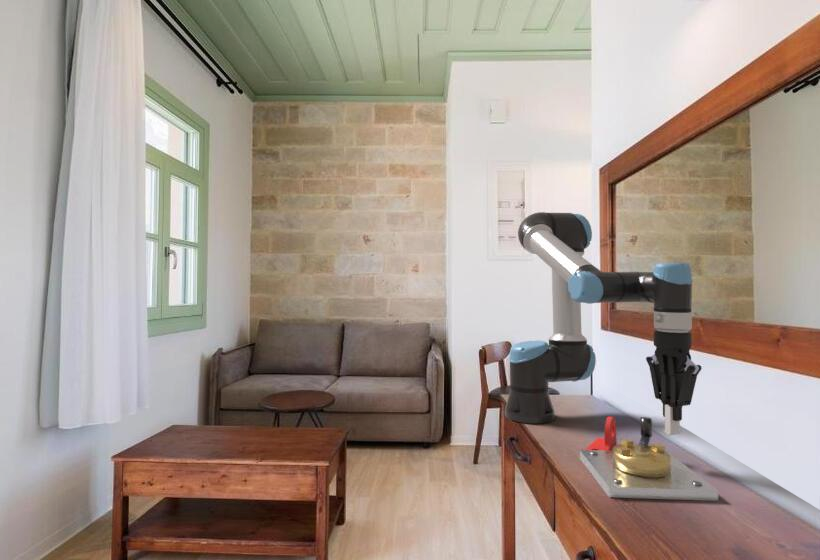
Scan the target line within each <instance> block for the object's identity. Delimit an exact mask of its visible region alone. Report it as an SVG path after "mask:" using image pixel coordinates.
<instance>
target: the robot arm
mask: <svg viewBox="0 0 820 560" xmlns="http://www.w3.org/2000/svg"><path fill="white" fill-rule="evenodd" d="M517 237H518V241H519V243H520V245H521V246H522V247H523V248H524V249H525V251H526V252H528V253H530V254H533V255H536V256H537V257H538V258H540V259H541V260H542V261H543V263H545V264H546V265H548V267H550V269H551V287H552V288H551V291H552V292H551V293H552V294H551V296H552V327H553V328H552V329H553V330H552V331H553V332H552V335H550V336H549V338H548V342H547V341H545V340H527V341H522V342H521V341H520V342H517V343H515V344H513V345H512V346H511V347H510V351H509V383H510V384H509V395H508V397H507V401H506V403H505V406H504V407H505V408H504V417H505V418H506V419H508V420H511V421H514V422H517V423H518V422H519V423H523V424H546V423H550V422H552V421H553V422H554V420H555V417H556V416H555V415H556V413H555V408H554V405H553V403H552V400H551V397H550V393H549V383H557V382H578V381H584V380H587V379H589V378H590V377H591V376H592V375H593V373H594V371H595V368H596V363H597V360H596V352H595V351H594V348H593V347H592V345H590V344H588V340H587V339H588V338H586V337H585V336H584V335H583V334H582V303H583V304H588V305H589V304H602V303H603V304H605V303H650V304H653V328H654V329H656V330H654V331H653V346H655V351H654V354H653V355H651V356H646V357H645V360H646V362H647V364H648V367H649V372H650V378H651V383H652V388H653V392H654V393H653V394H654V397H655V399H657V400H660V401H661V403H662V415H663V418H664V434H667V435H670V436H673V435H680V434H681V433H680V431H681V430H680V429H681V428H680V425H681V424H680V422H681V421H682V419H683V407H684V406H685V407H686V406H690V405H691V404H692V401H693V396H694V392H695V386H696V381H697V378H698V375H699V373H700V372H701V371H702V369H703V367H702V366H701V365H700V364H695V362H694V361H693V360H692V356H691V354H690V350H691V348H692V347H693V345H692V342H693V341H692V340H693V339H692V337H693V336H692V335H693V334H692V333H691V332H690V331H691V330H692V329H693V326H692V325H693V323H692V321H693V318H692V317H693V315H692V304H693V303H692V297H693V296H692V294H693V293H692V292H693V291H692V290H693V277H692V276H693V274H692V266H691V265H690V264H689V263H687V262H659V263H656V264H654V266H653V271H602V270H600V269H599V268H598V267H596V266H595V265H593V264H592V263H591V262H590V261H588V259H586V258H585V257H583V256H584V255H585V249H587V248H588V247H590V244H591V241H592V238H593V231H592V226H591V224H590V222H589V219H587V218H586V216H585V215H582V214H578V213H572V212H544V211H543V212H542V211H541V212H534V213H532V214H530V215H528V216H526V217H525V218H524V219H523V220H522V221H521V223H520V225H519V227H518V231H517Z"/></svg>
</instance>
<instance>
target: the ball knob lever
mask: <svg viewBox="0 0 820 560" xmlns="http://www.w3.org/2000/svg"><path fill="white" fill-rule="evenodd" d="M652 419H653V418H651V417H648V416H642V417H641V416H640V436H641V437H640V440H639V443H634V441H633V440H631V439H629V438H621V439H620V444H617V445H616V446H614V447H613V450H612V451H613V464H614V466H615V467H617V468H618V469H620V470H622V471H624V472H627V473H630V474H634V475H638V476H644V477H663V476H667V475H669V474H670V473H671V457H670V455H669V454H668V453H669V452H668V451H666V447H665V446H666V445H664V444H661V443H652V437H653V420H652ZM667 452H668V453H667Z"/></svg>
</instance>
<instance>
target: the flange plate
mask: <svg viewBox="0 0 820 560" xmlns="http://www.w3.org/2000/svg"><path fill="white" fill-rule="evenodd" d="M666 452H667V453H668V454H669V455H670V457H671V473H670V474H669V475H667V476H663V477H644V476H638V475H634V474H630V473H627V472H624V471H622V470H620V469H618V468H617V467H615V466H614V464H613V450H612V451H605V450H586V449H580V450H579V459H580V460H581V462H582V463H583V464H584V466H585V467H586V469H587V470H588V471H589V472H590V473H592V474H591V475H592V477H593V478H594V479H595V480H596V481H597V483H598V484H599V486H600V487H601V489H602V490H603V492H605V494H606V496H607V497H608V498H617V499H618V498H619V499H623V498H624V499H647V500H648V499H649V500H650V499H651V500H675V501H676V500H679V501H680V500H681V501H710V502H712V501H713V502H714V501H715V502H719V490H718V489H717V488H716V487H715V486H713V485H712V484H711V483H709V482H708V481H707V480H705V479H704V478H702V477H701V476H700V475H699V474H697V473H696V472H694V471H693V470H692V469H691V468H689V467H688V466H687V465H685V464H684V463H683V462H681V460H679V459H677V458H676V457H675V456H674V455H672V454H671V453H670V452H668V451H666Z"/></svg>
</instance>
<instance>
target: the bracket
mask: <svg viewBox="0 0 820 560" xmlns="http://www.w3.org/2000/svg"><path fill="white" fill-rule="evenodd" d="M616 445H618V443H617V421H616V418H615V417H613V416H608V417H606V420H605V426H604V438H602V437H597V438H595V440H594V441H593V442H592V443H590V445H588V446H587V447H586V448H585V450H605V451H613V447H614V446H616Z"/></svg>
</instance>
